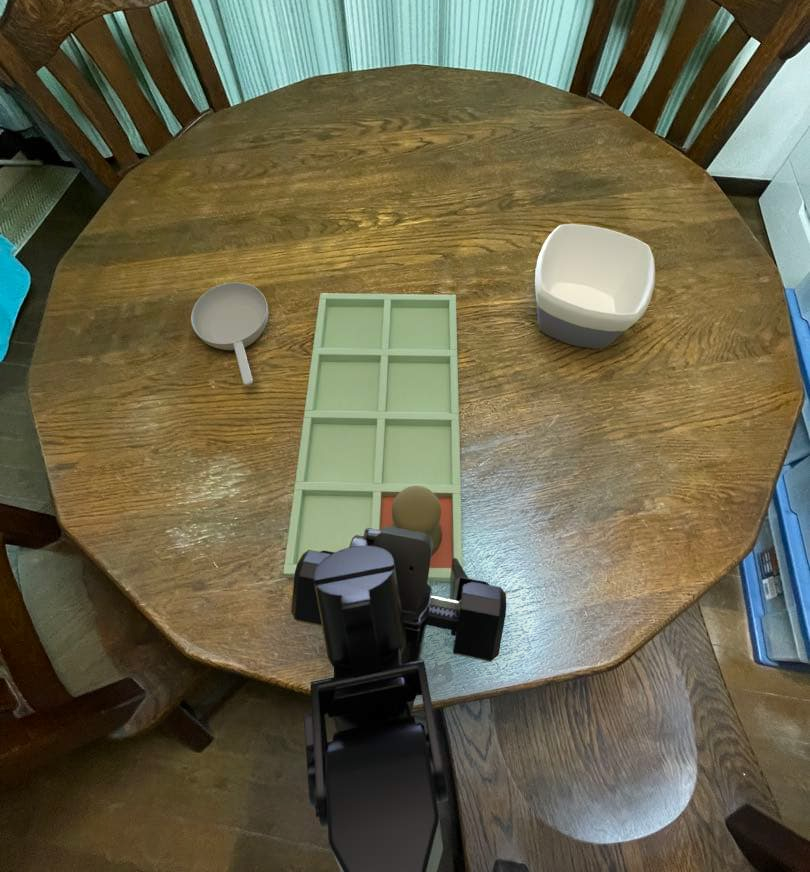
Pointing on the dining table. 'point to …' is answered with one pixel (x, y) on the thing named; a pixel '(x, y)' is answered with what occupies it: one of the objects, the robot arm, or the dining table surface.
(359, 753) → the robot arm
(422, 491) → the cork
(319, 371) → the grid
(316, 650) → the dining table surface
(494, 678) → the dining table surface
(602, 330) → the bowl
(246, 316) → the grey frying pan
